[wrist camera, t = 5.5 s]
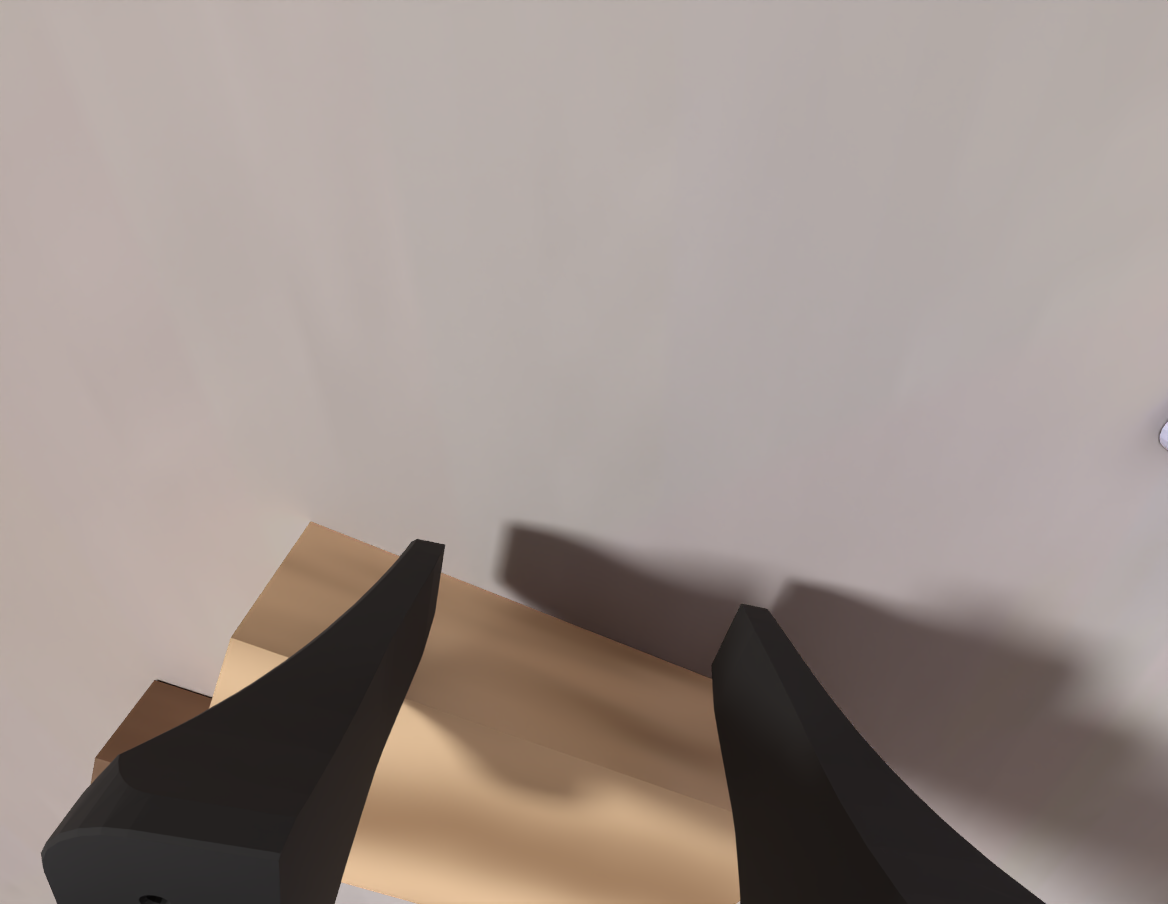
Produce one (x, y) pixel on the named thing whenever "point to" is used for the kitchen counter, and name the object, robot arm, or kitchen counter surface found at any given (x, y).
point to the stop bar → (151, 720)
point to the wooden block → (515, 750)
